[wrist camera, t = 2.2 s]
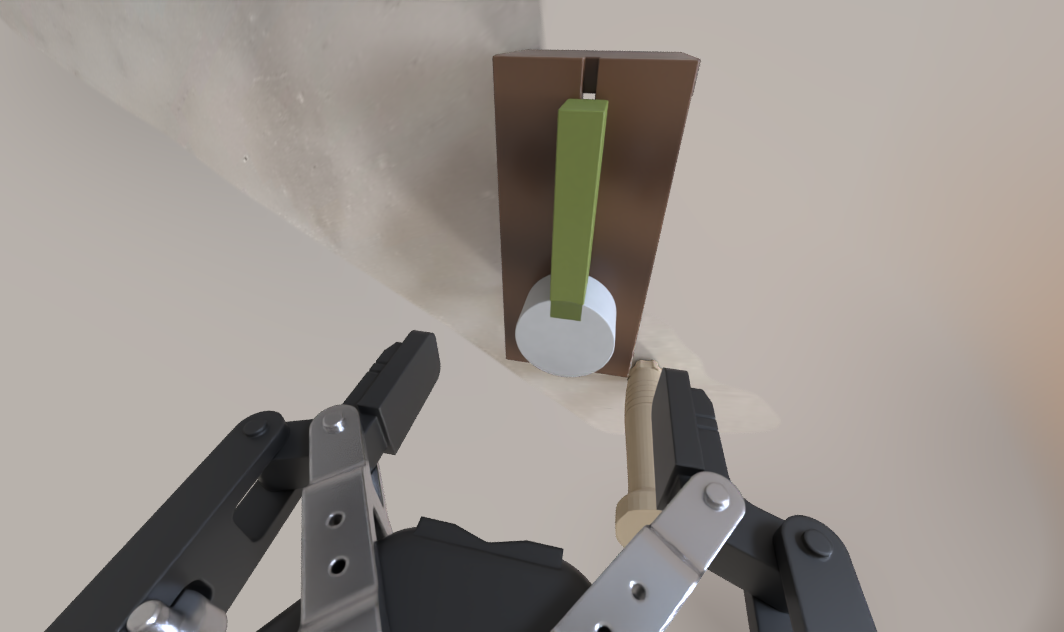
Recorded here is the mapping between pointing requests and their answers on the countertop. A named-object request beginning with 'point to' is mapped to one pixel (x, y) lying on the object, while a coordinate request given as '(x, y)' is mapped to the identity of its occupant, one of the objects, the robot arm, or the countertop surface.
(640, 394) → the handle
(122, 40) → the countertop surface
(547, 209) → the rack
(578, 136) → the green handled white cylinder
